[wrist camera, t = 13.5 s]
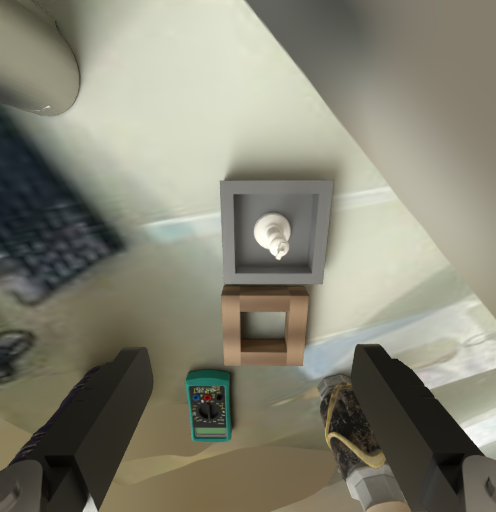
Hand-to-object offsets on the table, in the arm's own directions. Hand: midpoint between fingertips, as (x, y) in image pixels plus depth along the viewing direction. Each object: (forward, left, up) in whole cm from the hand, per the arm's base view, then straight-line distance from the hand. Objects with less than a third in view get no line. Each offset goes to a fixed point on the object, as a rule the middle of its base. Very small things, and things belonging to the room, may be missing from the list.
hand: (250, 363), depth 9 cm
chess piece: (0, +3, -23) cm, 23 cm away
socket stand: (+14, +2, -24) cm, 28 cm away
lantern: (+28, +15, -24) cm, 40 cm away
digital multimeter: (+32, -7, -25) cm, 41 cm away
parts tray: (0, +3, -24) cm, 24 cm away
